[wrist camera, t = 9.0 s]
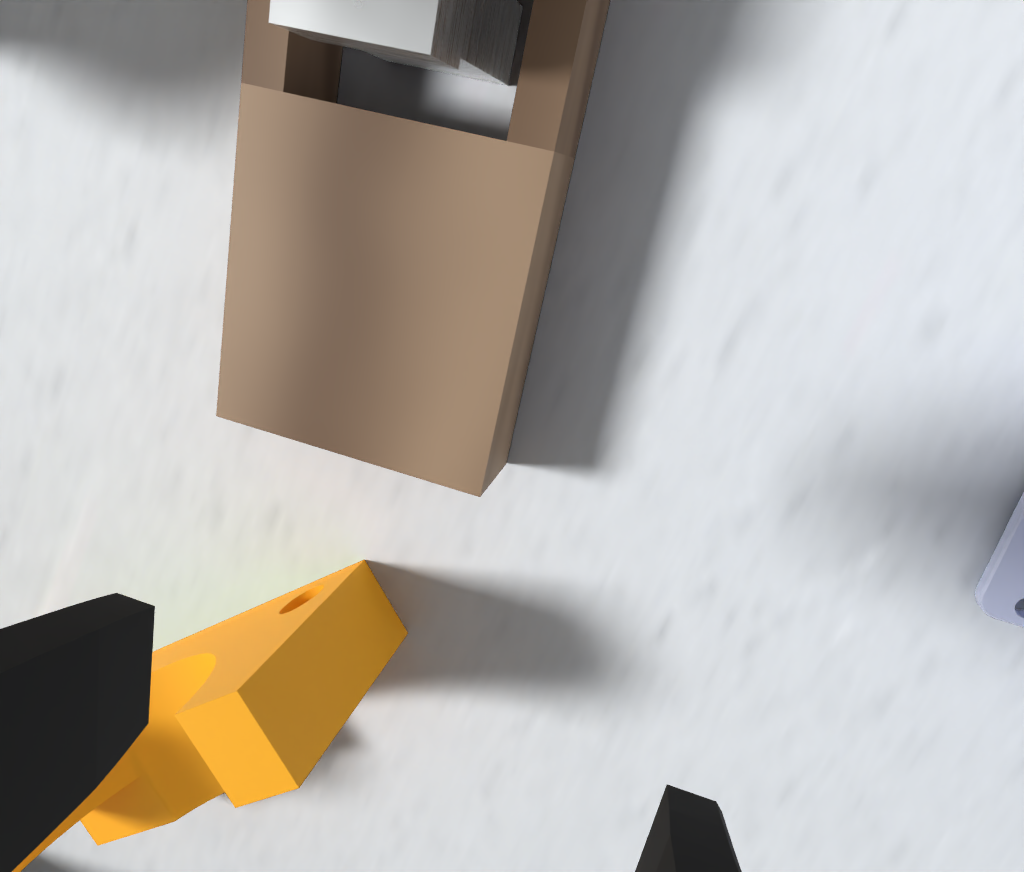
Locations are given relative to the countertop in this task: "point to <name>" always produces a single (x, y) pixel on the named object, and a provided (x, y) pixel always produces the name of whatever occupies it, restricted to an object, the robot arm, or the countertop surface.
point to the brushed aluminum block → (414, 31)
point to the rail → (395, 254)
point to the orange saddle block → (246, 705)
